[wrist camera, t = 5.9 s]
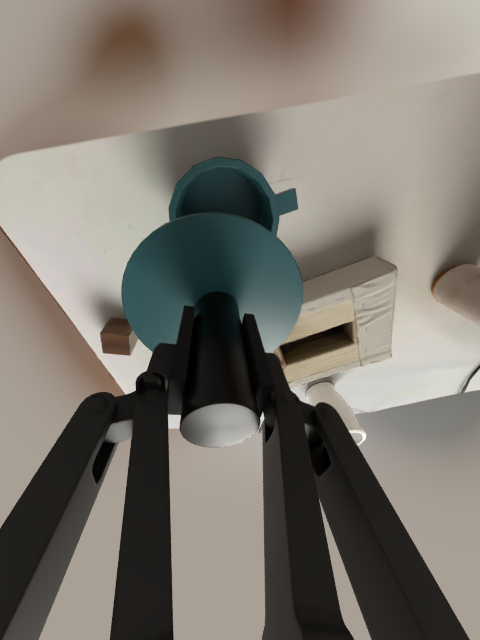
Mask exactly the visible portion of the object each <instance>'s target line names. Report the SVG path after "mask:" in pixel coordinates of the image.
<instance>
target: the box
mask: <svg viewBox="0 0 480 640" xmlns="http://www.w3.org/2000/svg"><path fill="white" fill-rule="evenodd" d="M397 272H398V269H397V267H396V266H395V265H394V264H392V263H390V262H388V261H386V260H384V259H382V258H380V257H377V256H373V257H370V258H367V259H364V260H362V261H359V262H356V263H354V264H351V265H348V266H345V267H343V268H340V269H337V270H334V271H332V272H329V273H326V274H323V275H321V276H318V277H315V278H312V279H310V280H307V281H304V282H302V284H303V303H302V307H301V312H300V315H299V318H298V320H297V323H296V325H295V326H294V328H293V330H292V332H291V333H290V334H289V336H288V337H287V339H286V340H285V341H284V342H283V343H282V344H281V345H280V346H279V347H278V348H277V349H276V350H275V351H273V352H272V353H275V355H276V356H277V357H278V358H279V360H280V363H281V367H282V368H283V372H284V374H285V377H286V379H287V382H288V385H289V388H292V387H295V386H298V385H301V384H305V383H308V382H311V381H314V380H317V379H321V378H324V377H327V376H330V375H334V374H337V373H340V372H343V371H346V370H350V369H353V368H356V367H359V366H365V365H368V364H371V363H377V362H381V361H384V360H387V359H389V358H391V357H392V354H391V342H392V328H393V315H394V303H395V290H396V281H397Z"/></svg>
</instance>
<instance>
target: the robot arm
mask: <svg viewBox="0 0 480 640" xmlns="http://www.w3.org/2000/svg"><path fill="white" fill-rule="evenodd" d="M194 312H195V307H194V306H186V305H184V309H183V313H182V318H181V323H180V328H179V332H178V337H177V342H176V344H168V343H159V344H158V345H157V346H156V347H155V348H154V351H153V354H152V357H151V360H150V363H149V366H148V369H147V371H146V372H144V373H142V374H140V375H139V376H138V377H137V380H136V391H134V392H132V393H130V394H127V395H123V396H118V397H115V396H113V395H112V394H111V393H107V392H99V393H95V394H92V395H90V396H89V397H87V398H86V399H85V400H84V401H83V402H82V403H81V404H80V406H79V407H78V409H77V410H76V412H75V413H74V415H73V417H72V418H71V420H70V421H69V423H68V424H67V426H66V428H65V429H64V430H63V432H62V434H61V435H60V437H59V438H58V440H57V441H56V443H55V444H54V446H53V448H52V449H51V451H50V452H49V454H48V455H47V457H46V459H45V460H44V461H43V463H42V465H41V466H40V468H39V469H38V471H37V472H36V474H35V475H34V477H33V478H32V480H31V482H30V483H29V485H28V486H27V488H26V489H25V491H24V492H23V494H22V496H21V497H20V499H19V500H18V502H17V503H16V505H15V506H14V508H13V510H12V511H11V513H10V514H9V516H8V517H7V519H6V520H5V522H4V524H3V525H2V527H1V528H0V640H38V639H39V637H40V635H41V632H42V630H43V627H44V625H45V622H46V619H47V617H48V615H49V613H50V610H51V608H52V605H53V603H54V600H55V597H56V595H57V593H58V590H59V588H60V586H61V583H62V581H63V578H64V576H65V573H66V571H67V568H68V566H69V563H70V561H71V558H72V556H73V553H74V551H75V549H76V546H77V544H78V541H79V539H80V536H81V534H82V532H83V529H84V526H85V524H86V522H87V519H88V517H89V514H90V512H91V509H92V507H93V505H94V502H95V499H96V497H97V495H98V492H99V490H100V487H101V485H102V483H103V480H104V478H105V475H106V472H107V470H108V468H109V465H110V463H111V460H112V458H113V456H114V453H115V451H116V448H117V446H118V443H119V442H120V441H124V440H127V439H130V438H132V439H131V448H130V458H129V467H128V477H127V486H126V495H125V504H124V513H123V523H122V532H121V541H120V551H119V561H118V569H117V579H116V588H115V598H114V607H113V617H112V625H111V634H110V640H174V639H173V610H172V570H171V569H172V568H171V527H170V487H169V486H170V485H169V443H168V414H172V415H181V412H182V404H183V397H184V391H185V384H186V376H187V368H188V360H189V352H190V344H191V336H192V328H193V320H194ZM242 329H243V334H244V339H245V344H246V349H247V354H248V359H249V365H250V370H251V375H252V380H253V385H254V390H255V395H256V401H257V406H258V411H259V416H260V417H261V415H262V412H263V413H264V418H265V419H264V421H263V423H262V425H261V427H260V429H259V433H261V431H262V434H263V435H262V436H263V496H264V555H265V556H264V557H265V627H264V631H263V636H262V640H354V639H353V637H352V635H351V634H350V632H349V630H348V629H347V628H346V626H345V624H344V621H343V619H342V615H341V611H340V606H339V601H338V597H337V591H336V586H335V580H334V575H333V570H332V566H331V560H330V554H329V549H328V544H327V539H326V534H325V528H324V524H323V518H322V513H321V508H320V503H319V499H320V502H321V504H322V507H323V510H324V512H325V515H326V518H327V521H328V523H329V526H330V529H331V531H332V534H333V537H334V540H335V542H336V545H337V548H338V550H339V553H340V555H341V558H342V561H343V564H344V566H345V569H346V572H347V574H348V577H349V580H350V582H351V585H352V588H353V591H354V593H355V596H356V599H357V602H358V604H359V607H360V610H361V612H362V615H363V618H364V620H365V623H366V626H367V628H368V631H369V634H370V636H371V639H372V640H470V639H469V638H468V636H467V634H466V633H465V631H464V629H463V627H462V626H461V624H460V622H459V620H458V619H457V617H456V615H455V613H454V612H453V610H452V608H451V607H450V605H449V603H448V601H447V600H446V598H445V596H444V594H443V593H442V591H441V589H440V588H439V586H438V584H437V582H436V581H435V579H434V577H433V575H432V574H431V572H430V570H429V569H428V567H427V565H426V563H425V562H424V560H423V558H422V557H421V555H420V553H419V551H418V550H417V548H416V546H415V544H414V543H413V541H412V539H411V538H410V536H409V534H408V532H407V531H406V529H405V527H404V525H403V524H402V522H401V520H400V519H399V517H398V515H397V513H396V512H395V510H394V508H393V506H392V505H391V503H390V501H389V500H388V498H387V496H386V494H385V493H384V491H383V489H382V487H381V486H380V484H379V482H378V480H377V479H376V477H375V475H374V474H373V472H372V470H371V468H370V467H369V465H368V463H367V461H366V460H365V458H364V457H363V455H362V453H361V451H360V449H359V448H358V446H357V444H356V442H355V441H354V439H353V437H352V436H351V434H350V432H349V430H348V429H347V427H346V425H345V423H344V422H343V420H342V418H341V417H340V415H339V413H338V412H337V410H336V409H335V408H334V407H333V406H331V405H330V404H328V403H325V402H319V403H317V404H316V406H312V405H309V404H306V403H304V402H302V401H300V400H299V398H298V397H297V395H296V394H294V393H293V392H292V391H291V390H290V388H289V385H288V382H287V379H286V377H285V374H284V372H283V368H282V367H281V363H280V360H279V358H278V357H277V356H276V355H275V353H267V352H265V350H264V347H263V343H262V340H261V336H260V333H259V330H258V326H257V323H256V319H255V316H254V314H246V313H244V316H243V320H242ZM318 496H319V497H318Z"/></svg>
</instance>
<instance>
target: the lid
mask: <svg viewBox="0 0 480 640" xmlns="http://www.w3.org/2000/svg"><path fill="white" fill-rule="evenodd" d="M122 303H123V309H124V312H125V315H126V318H127V320H128V322H129V324H130V326H131V328H132V330H133V331H134V333H135V334H136V336H137V337H138V338H139V339H140V340H141V342H142V343H143V344H144V345H145V346H146V347H147V348H149V349H150V350H151V351H152V352H153V351H154V348H155V347H156V346H157V345H158V344H159V343H168V344H176V342H177V337H178V332H179V328H180V323H181V318H182V313H183V309H184V305H186V306H194V307H195V312H194V320H193V328H192V336H191V344H190V352H189V360H188V368H187V376H186V384H185V391H184V397H183V404H182V412H181V420H180V432H181V434H182V436H183V437H184V438H185V439H186V440H187V441H189V442H191V443H193V444H196V445H199V446H202V447H210V448H219V447H227V446H232V445H236V444H239V443H241V442H243V441H245V440H247V439H249V438H250V437H252V436H253V435H254V434H255V433H256V432H257V430H258V429H259V426H260V416H259V411H258V406H257V401H256V395H255V390H254V385H253V380H252V375H251V370H250V365H249V359H248V354H247V349H246V344H245V339H244V334H243V329H242V320H243V316H244V313H246V314H254V316H255V319H256V323H257V326H258V330H259V333H260V336H261V340H262V343H263V347H264V350H265V352H267V353H272V352H273V351H275V350H276V349H277V348H278V347H279V346H280V345H281V344H282V343H283V342H284V341H285V340H286V339H287V337H288V336H289V334H290V333H291V332H292V330H293V328H294V326H295V325H296V323H297V320H298V318H299V315H300V312H301V307H302V303H303V284H302V278H301V274H300V271H299V268H298V266H297V263H296V261H295V259H294V258H293V256H292V254H291V253H290V251H289V250H288V249H287V247H286V246H285V245H284V244H283V242H282V241H281V240H280V239H278V238H277V237H276V236H275V235H274V234H273V233H272V232H271V231H269V230H267V229H266V228H264V227H263V226H261V225H260V224H258V223H256V222H254V221H251V220H249V219H247V218H244V217H240V216H237V215H233V214H227V213H220V212H204V213H196V214H190V215H187V216H183V217H180V218H176V219H174V220H172V221H170V222H168V223H166V224H164V225H162V226H161V227H159V228H158V229H156V230H155V231H153V232H152V233H151V234H150V235H149V236H148V237H147V238H145V239H144V240H143V241H142V242H141V243H140V245H139V246H138V247H137V249H136V250H135V251H134V252H133V254H132V256H131V258H130V260H129V261H128V263H127V266H126V269H125V272H124V275H123V280H122Z"/></svg>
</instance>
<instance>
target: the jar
mask: <svg viewBox="0 0 480 640" xmlns="http://www.w3.org/2000/svg"><path fill="white" fill-rule="evenodd" d="M306 397H307V399H308V400H309V405H312V406H316V404H317V403H319V402H325V403H328V404H330V405H331V406H333V407H334V408H335V409H336V410H337V412H338V413H339V415H340V417H341V418H342V420H343V422H344V423H345V425H346V427H347V429H348V430H349V432H350V434H351V436H352V437H353V439H354V441H355V442H356V444H357V446H358V445H360V444H361V443H362V442H363V441H364V440H365V439H366V433H365V432H364V430H363V429H361V428H360V427H359V424H358V421H357V419H356V417H355V414H354V413H353V411H352V409H351V408H350V406H349V405H348V404H347V403H346V402H345V400H344V399H343V398H342V396H341V395H340V394H339V393H338V392H336V391H335V389H334V386H333V385H332V384H331V383H327V382H322V383H318V384H315V385H313V386H312V387H310V388H309V389H308V390H307V392H306Z"/></svg>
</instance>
